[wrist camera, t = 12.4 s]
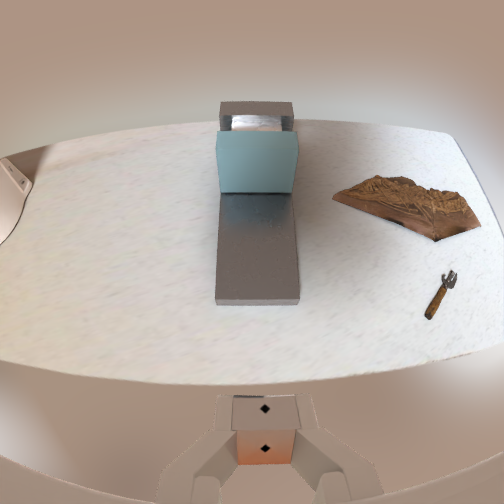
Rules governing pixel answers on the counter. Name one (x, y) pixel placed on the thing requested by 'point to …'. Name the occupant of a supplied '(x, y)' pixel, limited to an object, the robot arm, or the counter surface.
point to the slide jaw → (256, 160)
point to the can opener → (440, 295)
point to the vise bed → (256, 228)
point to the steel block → (256, 126)
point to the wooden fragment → (412, 206)
